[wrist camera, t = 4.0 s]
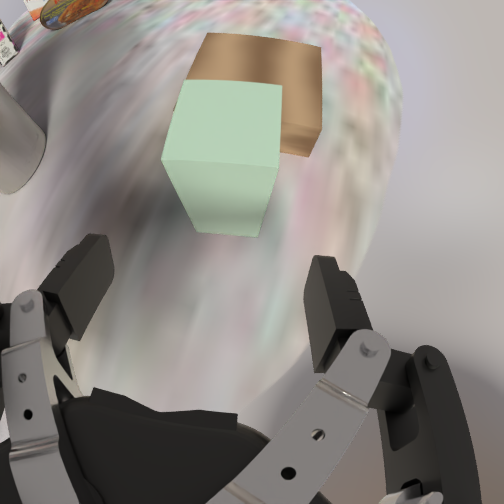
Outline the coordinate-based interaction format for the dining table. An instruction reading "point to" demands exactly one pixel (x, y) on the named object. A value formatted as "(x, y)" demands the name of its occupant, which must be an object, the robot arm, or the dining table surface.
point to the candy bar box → (6, 46)
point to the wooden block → (270, 79)
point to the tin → (67, 11)
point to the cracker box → (35, 7)
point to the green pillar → (225, 153)
